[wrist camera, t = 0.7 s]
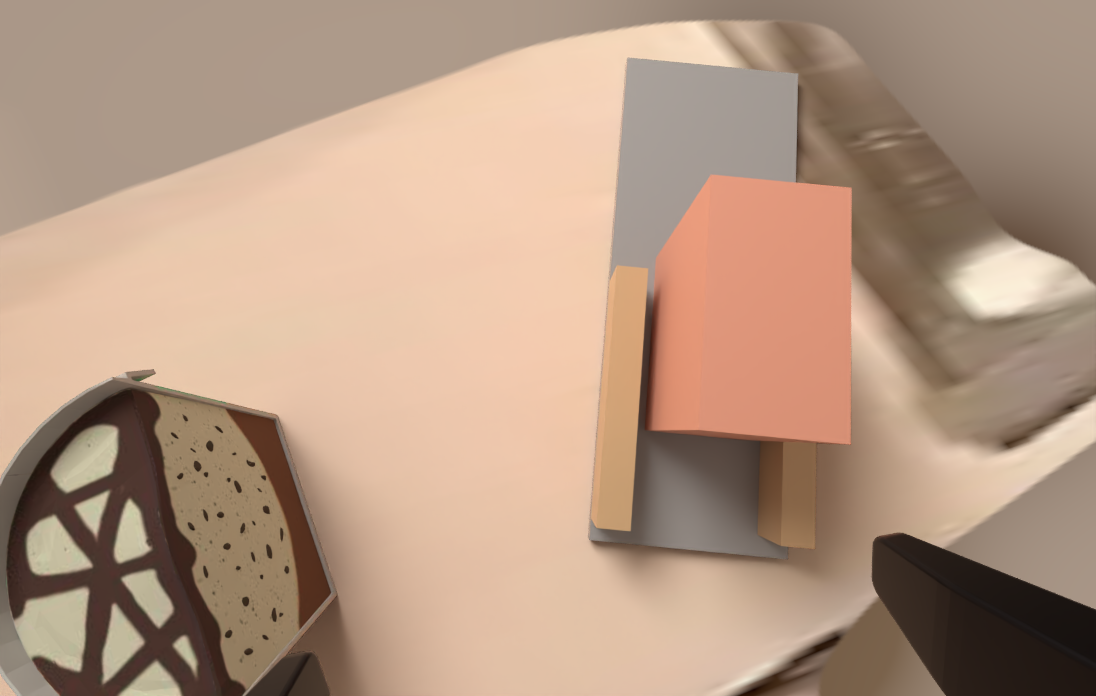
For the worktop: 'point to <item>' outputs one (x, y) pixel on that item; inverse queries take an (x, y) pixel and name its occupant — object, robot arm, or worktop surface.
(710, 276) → the block
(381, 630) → the worktop surface
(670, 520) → the chute
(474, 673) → the worktop surface
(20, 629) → the food container
